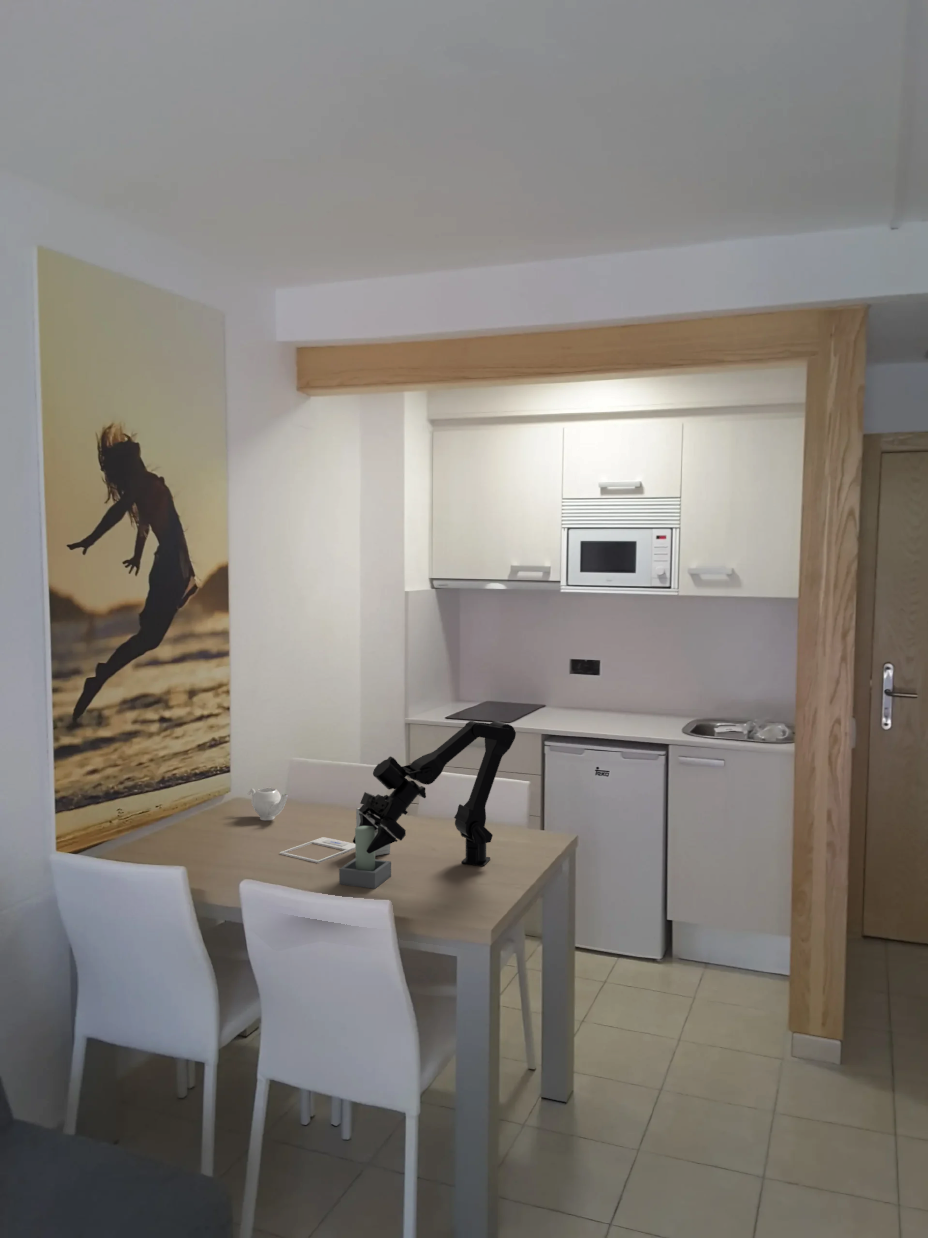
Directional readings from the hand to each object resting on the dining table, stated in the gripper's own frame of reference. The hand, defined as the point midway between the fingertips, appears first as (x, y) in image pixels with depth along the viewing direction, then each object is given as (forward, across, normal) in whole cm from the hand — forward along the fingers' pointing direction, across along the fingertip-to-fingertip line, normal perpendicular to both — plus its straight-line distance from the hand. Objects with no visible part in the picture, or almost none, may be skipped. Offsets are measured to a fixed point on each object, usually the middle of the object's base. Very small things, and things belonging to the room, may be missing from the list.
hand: (360, 847), depth 249 cm
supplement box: (-2, -21, +15) cm, 26 cm away
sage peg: (+5, 0, +7) cm, 8 cm away
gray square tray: (+5, 0, +7) cm, 9 cm away
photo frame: (+7, -30, +7) cm, 31 cm away
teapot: (+9, -70, +4) cm, 70 cm away
